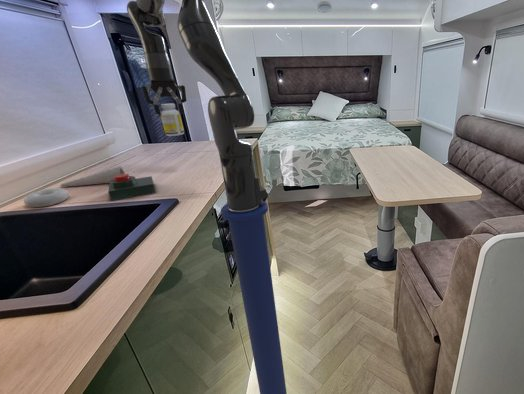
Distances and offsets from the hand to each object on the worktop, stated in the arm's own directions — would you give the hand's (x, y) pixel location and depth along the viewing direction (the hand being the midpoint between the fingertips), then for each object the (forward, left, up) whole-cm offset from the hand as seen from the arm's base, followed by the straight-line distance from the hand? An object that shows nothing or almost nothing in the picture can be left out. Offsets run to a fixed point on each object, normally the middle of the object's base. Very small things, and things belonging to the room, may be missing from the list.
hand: (170, 114), depth 111 cm
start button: (+19, +16, -18) cm, 31 cm away
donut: (+39, +11, -23) cm, 47 cm away
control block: (+17, +16, -23) cm, 33 cm away
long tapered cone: (+29, -1, -23) cm, 37 cm away
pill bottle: (0, 0, -8) cm, 8 cm away
